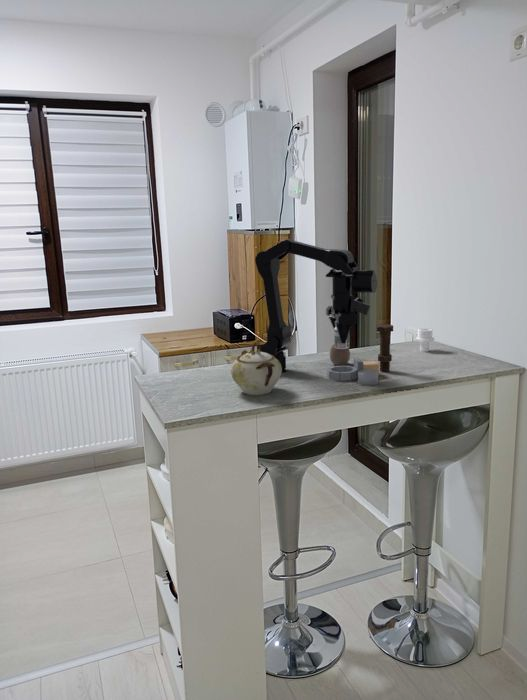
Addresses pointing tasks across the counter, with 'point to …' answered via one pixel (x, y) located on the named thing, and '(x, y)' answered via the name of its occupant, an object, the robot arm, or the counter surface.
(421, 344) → the pipe fitting
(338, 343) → the pill bottle
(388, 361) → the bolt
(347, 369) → the octagonal ring stamp
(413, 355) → the counter surface
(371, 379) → the grey rounded lump
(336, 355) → the vase
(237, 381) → the sugar bowl
